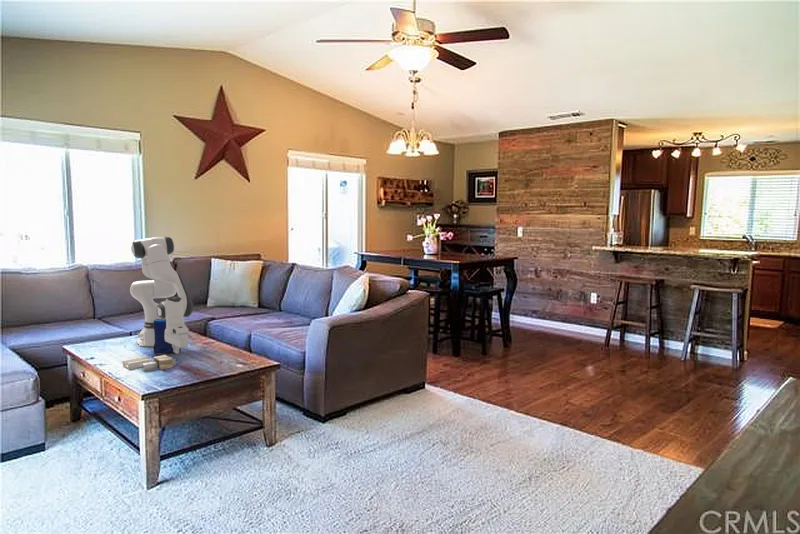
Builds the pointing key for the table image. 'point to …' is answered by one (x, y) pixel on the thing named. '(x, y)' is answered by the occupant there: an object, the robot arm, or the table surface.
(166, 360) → the tan wooden block
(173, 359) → the bar
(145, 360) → the cradle
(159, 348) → the book
